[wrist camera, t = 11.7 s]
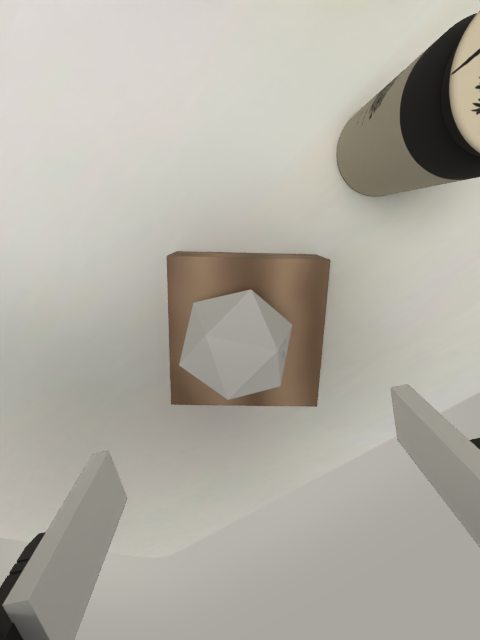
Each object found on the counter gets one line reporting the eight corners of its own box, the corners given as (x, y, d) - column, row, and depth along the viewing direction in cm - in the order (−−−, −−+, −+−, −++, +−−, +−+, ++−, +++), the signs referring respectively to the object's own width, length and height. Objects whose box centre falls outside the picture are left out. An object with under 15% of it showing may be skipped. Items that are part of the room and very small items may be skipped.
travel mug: (434, 165, 33) (650, 101, 16) (360, 212, 34) (488, 201, 17) (397, 85, 32) (596, -84, 14) (320, 138, 33) (418, 40, 15)
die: (234, 390, 34) (308, 415, 26) (151, 377, 29) (213, 404, 21) (251, 307, 35) (328, 308, 27) (174, 282, 30) (241, 274, 22)
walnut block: (180, 377, 39) (171, 404, 34) (177, 251, 36) (166, 256, 30) (304, 379, 40) (316, 406, 34) (314, 254, 36) (330, 259, 30)
